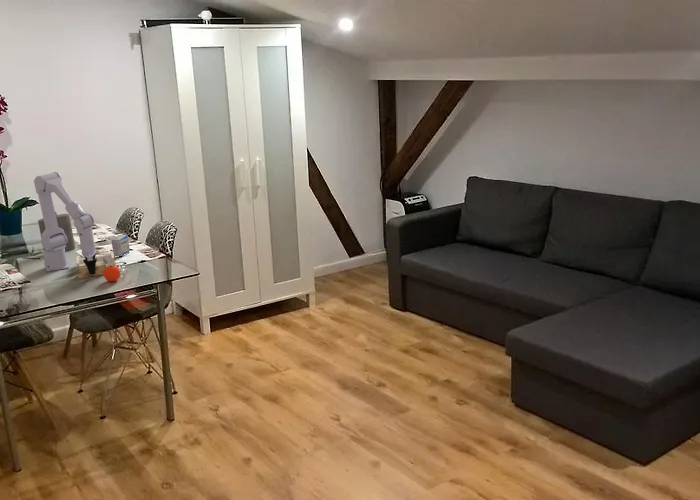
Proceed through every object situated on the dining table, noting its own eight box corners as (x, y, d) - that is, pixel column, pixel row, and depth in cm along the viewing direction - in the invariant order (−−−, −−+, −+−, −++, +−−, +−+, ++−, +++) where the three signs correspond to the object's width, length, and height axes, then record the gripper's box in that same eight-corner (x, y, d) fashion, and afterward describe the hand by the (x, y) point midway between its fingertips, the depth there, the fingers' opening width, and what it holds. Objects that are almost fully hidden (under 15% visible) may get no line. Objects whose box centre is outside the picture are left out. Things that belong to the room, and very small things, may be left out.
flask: (71, 246, 349) (64, 207, 342) (77, 248, 345) (70, 209, 338) (42, 254, 339) (34, 214, 332) (47, 256, 335) (39, 216, 328)
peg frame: (78, 272, 311) (76, 263, 310) (78, 265, 321) (76, 256, 319) (115, 267, 316) (114, 257, 315) (114, 259, 326) (112, 250, 325)
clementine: (107, 277, 304) (105, 262, 301) (123, 276, 304) (121, 261, 302) (102, 284, 296) (100, 268, 294) (119, 283, 297) (116, 267, 294)
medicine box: (122, 257, 329) (119, 240, 326) (113, 257, 330) (110, 239, 327) (130, 251, 336) (127, 234, 334) (122, 251, 337) (119, 234, 335)
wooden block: (78, 278, 304) (76, 269, 303) (78, 276, 308) (76, 266, 307) (107, 274, 308) (105, 264, 307) (106, 271, 312) (105, 262, 311)
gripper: (97, 245, 298) (102, 274, 303) (96, 236, 311) (101, 264, 315) (80, 247, 296) (85, 277, 300) (79, 238, 309) (84, 267, 313)
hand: (92, 271), depth 308 cm, fingers open, 7 cm apart
